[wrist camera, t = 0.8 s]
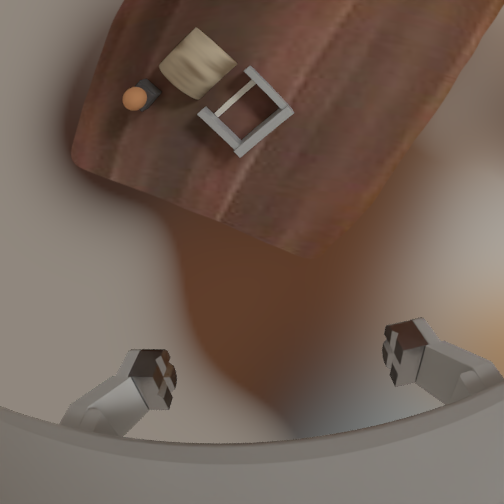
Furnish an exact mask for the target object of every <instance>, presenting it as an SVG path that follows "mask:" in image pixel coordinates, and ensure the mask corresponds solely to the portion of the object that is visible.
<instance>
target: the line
mask: <svg viewBox="0 0 504 504" xmlns="http://www.w3.org/2000/svg"><path fill="white" fill-rule="evenodd" d="M255 84H256V83H255V82H254V81H253V80H251V81H250V82H248V83H247V84H246V85H245V86H244V87H243V88H242V89H240V90H239V91H238V92H237V93H236V94H235V95H234V96H233V97H231V98H230V99H229V100H228V101H227V102H226V103H225V104H224V105H223V106H222V107H221V108H220V109H218V110H217V111H216V112H215V113H214V114H215V115H216V116H217V117H219V116H220V115H221V114H222V113H224V112H225V111H226V110H227V109H228V108H229V107H230V106H231V105H232V104H233V103H235V102H236V101H237V100H238V99H239V98H240V97H241V96H242V95H244V94H245V93H246V92H247V91H248V90H249V89H250V88H252V87H253V86H254V85H255Z"/></svg>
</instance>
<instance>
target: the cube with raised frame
mask: <svg viewBox="0 0 504 504" xmlns="http://www.w3.org/2000/svg"><path fill="white" fill-rule="evenodd" d="M135 87H140V88H142V89H143V90H144V91H145V92H146V94H147V101H146V103H145V105H144V106H143V107H142V108H141V109H139V110H140V111H141V112H142V111H144V110H146V109H148V108H149V107H150V105H151V104H152V103H153V102H154V101H155V100H156V99H157V97H158V96H159V95H160V94H161V93H162V92H161V91H160V90H159V89H158V88H157V87H156V86H154V85H153V84H152V83H151V82H150V81H149V80H148V79H143V80H140V81H139V82H138V83H137V84H136V86H135Z"/></svg>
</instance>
